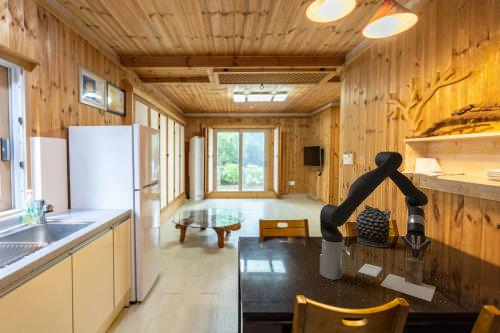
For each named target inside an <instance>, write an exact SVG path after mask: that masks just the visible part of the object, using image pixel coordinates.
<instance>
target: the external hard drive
mask: <svg viewBox="0 0 500 333" xmlns="http://www.w3.org/2000/svg"><path fill="white" fill-rule="evenodd" d="M382 270H383V267H381V266H377V265H373V264H368V263H364V265H363V266H362V267H361V268H360V269H359V270H358V271H357V275H366V276H368V277H372V278H374V279H375V278H378V276H379V274H381V272H382Z"/></svg>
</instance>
